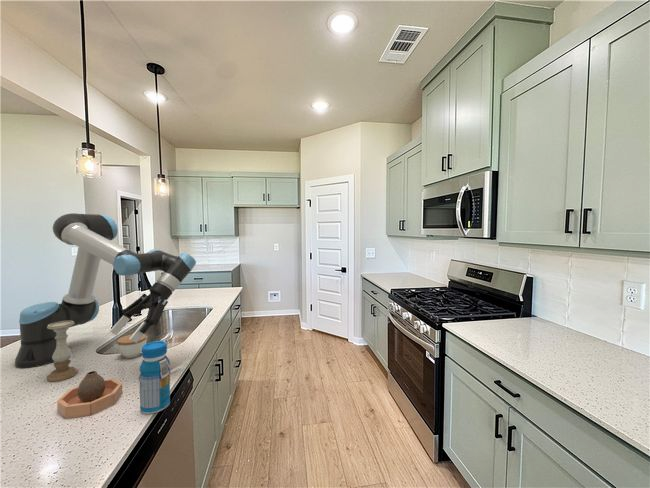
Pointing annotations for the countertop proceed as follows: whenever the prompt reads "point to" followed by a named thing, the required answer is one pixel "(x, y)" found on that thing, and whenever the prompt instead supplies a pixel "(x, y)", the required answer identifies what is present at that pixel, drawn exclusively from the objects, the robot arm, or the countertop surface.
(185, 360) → the fork
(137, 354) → the lidded jar
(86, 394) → the vase
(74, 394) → the terracotta dish
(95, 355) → the countertop surface
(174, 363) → the countertop surface
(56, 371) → the candle holder
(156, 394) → the beverage bottle
